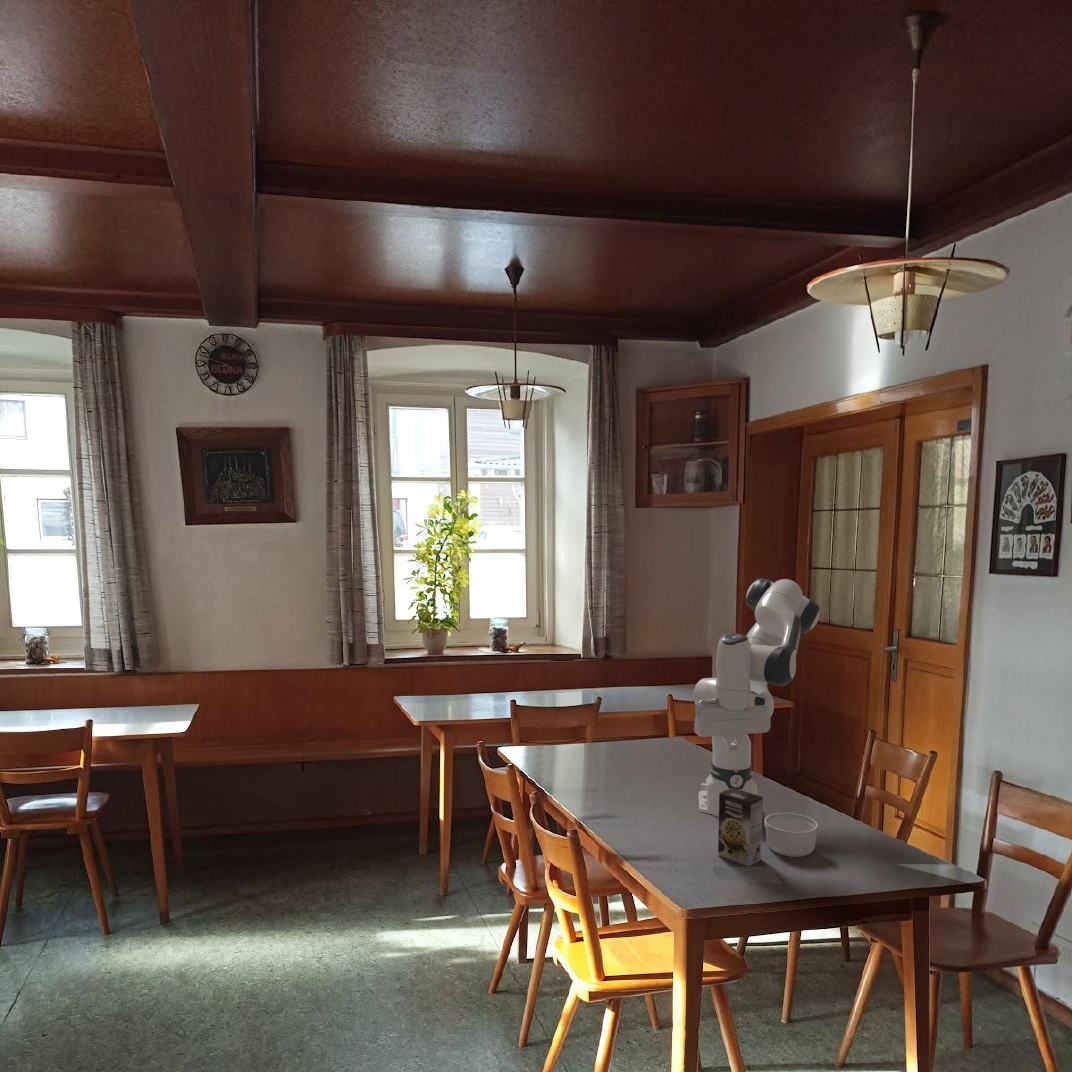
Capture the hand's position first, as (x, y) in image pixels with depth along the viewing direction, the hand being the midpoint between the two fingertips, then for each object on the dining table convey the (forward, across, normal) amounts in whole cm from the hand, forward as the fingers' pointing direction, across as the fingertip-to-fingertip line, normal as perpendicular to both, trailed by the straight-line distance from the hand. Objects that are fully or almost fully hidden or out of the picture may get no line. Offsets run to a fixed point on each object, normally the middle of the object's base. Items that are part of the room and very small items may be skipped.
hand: (731, 750), depth 221 cm
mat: (+24, -5, -19) cm, 31 cm away
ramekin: (+24, +14, -7) cm, 29 cm away
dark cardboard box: (+24, -2, -9) cm, 26 cm away
